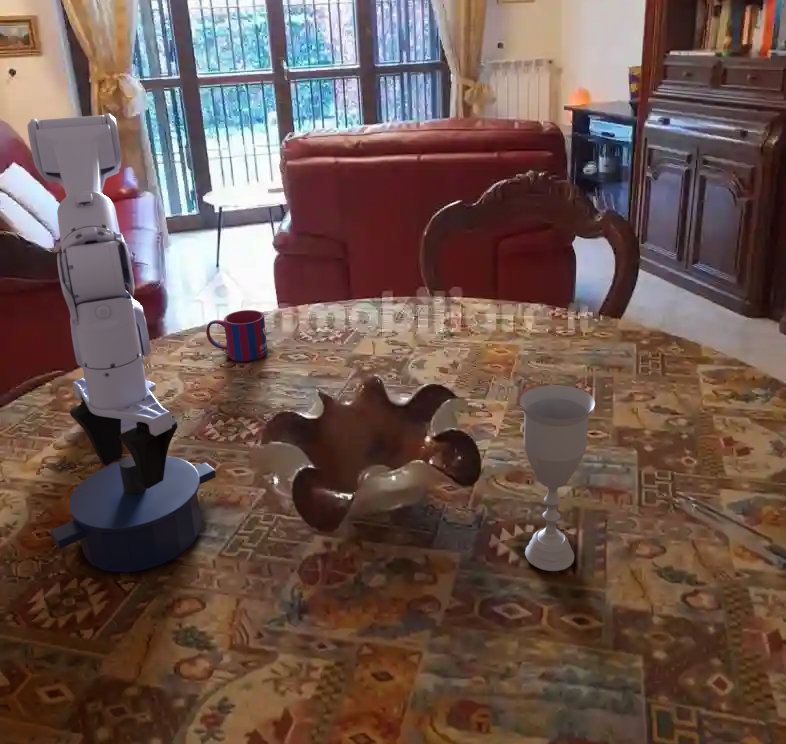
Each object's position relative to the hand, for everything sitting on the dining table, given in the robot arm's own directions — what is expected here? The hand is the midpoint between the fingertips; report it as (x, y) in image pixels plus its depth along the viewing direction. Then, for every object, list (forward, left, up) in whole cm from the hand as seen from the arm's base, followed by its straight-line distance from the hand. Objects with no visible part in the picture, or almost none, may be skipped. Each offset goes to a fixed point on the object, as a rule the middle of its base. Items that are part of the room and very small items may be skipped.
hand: (132, 471), depth 81 cm
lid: (0, 0, -3) cm, 3 cm away
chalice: (+34, +29, -8) cm, 45 cm away
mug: (-35, +34, -8) cm, 50 cm away
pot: (0, 0, -8) cm, 8 cm away
